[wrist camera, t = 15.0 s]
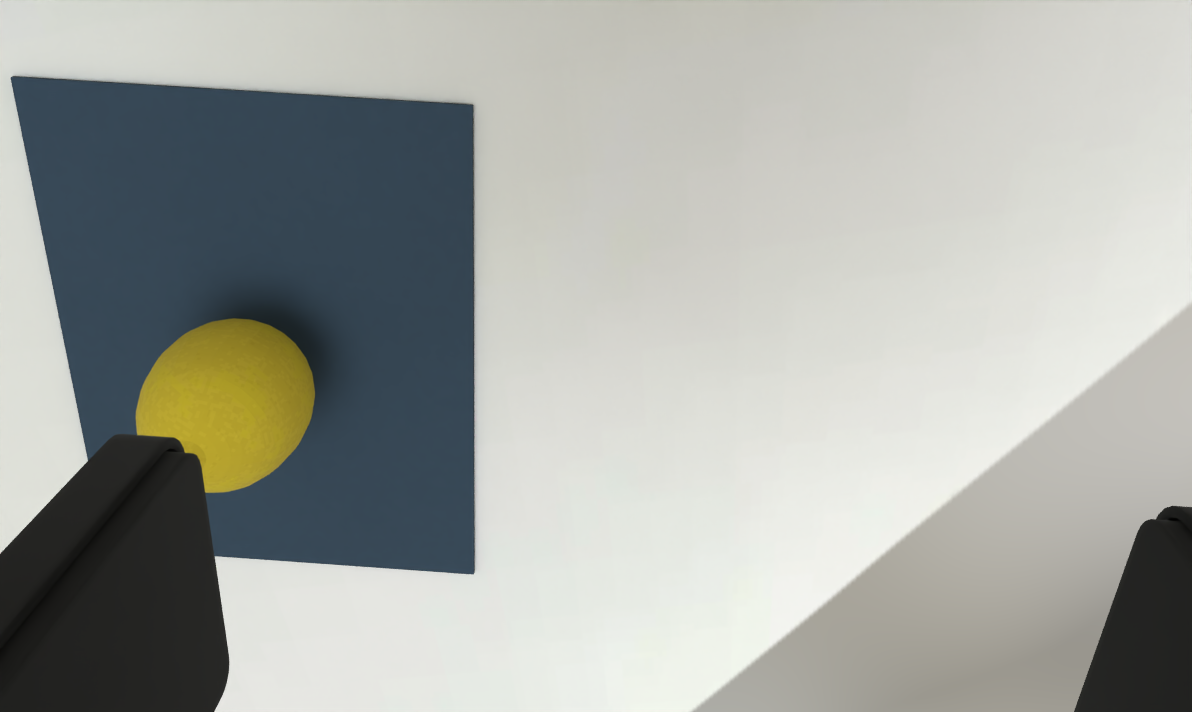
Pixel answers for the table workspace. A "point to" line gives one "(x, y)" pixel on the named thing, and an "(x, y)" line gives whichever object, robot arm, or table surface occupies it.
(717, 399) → the table surface
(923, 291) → the table surface
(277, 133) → the mat
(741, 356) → the table surface
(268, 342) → the lemon
